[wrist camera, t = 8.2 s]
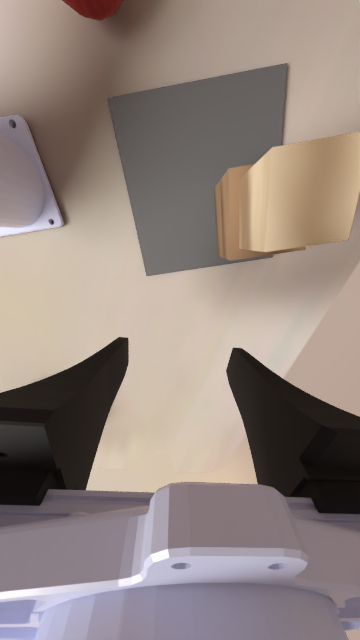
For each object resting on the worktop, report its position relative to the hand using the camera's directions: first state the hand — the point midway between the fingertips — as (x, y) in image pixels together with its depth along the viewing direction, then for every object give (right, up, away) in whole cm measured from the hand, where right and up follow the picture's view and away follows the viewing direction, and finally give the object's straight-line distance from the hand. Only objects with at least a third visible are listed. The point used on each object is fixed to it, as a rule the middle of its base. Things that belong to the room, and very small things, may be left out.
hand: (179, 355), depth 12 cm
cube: (+7, +10, +1) cm, 12 cm away
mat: (+2, +15, +5) cm, 16 cm away
